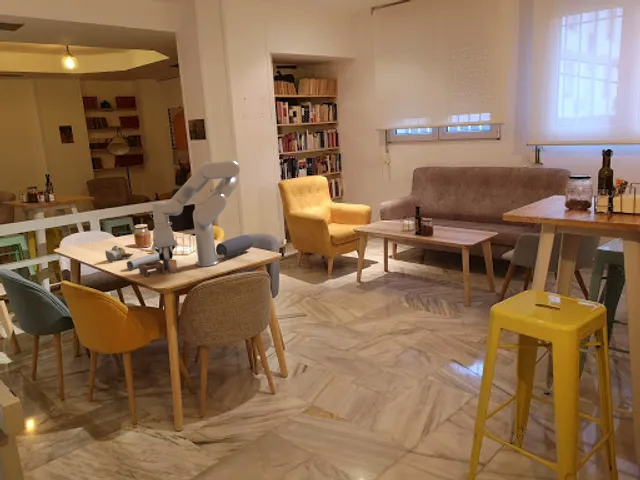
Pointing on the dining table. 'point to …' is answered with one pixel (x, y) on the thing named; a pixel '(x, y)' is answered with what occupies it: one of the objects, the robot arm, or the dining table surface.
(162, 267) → the walnut bridge
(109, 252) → the ceramic sculpture
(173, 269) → the clay pin short
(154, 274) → the dining table surface
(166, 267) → the steel pin long
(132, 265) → the tube
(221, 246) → the bluetooth speaker
